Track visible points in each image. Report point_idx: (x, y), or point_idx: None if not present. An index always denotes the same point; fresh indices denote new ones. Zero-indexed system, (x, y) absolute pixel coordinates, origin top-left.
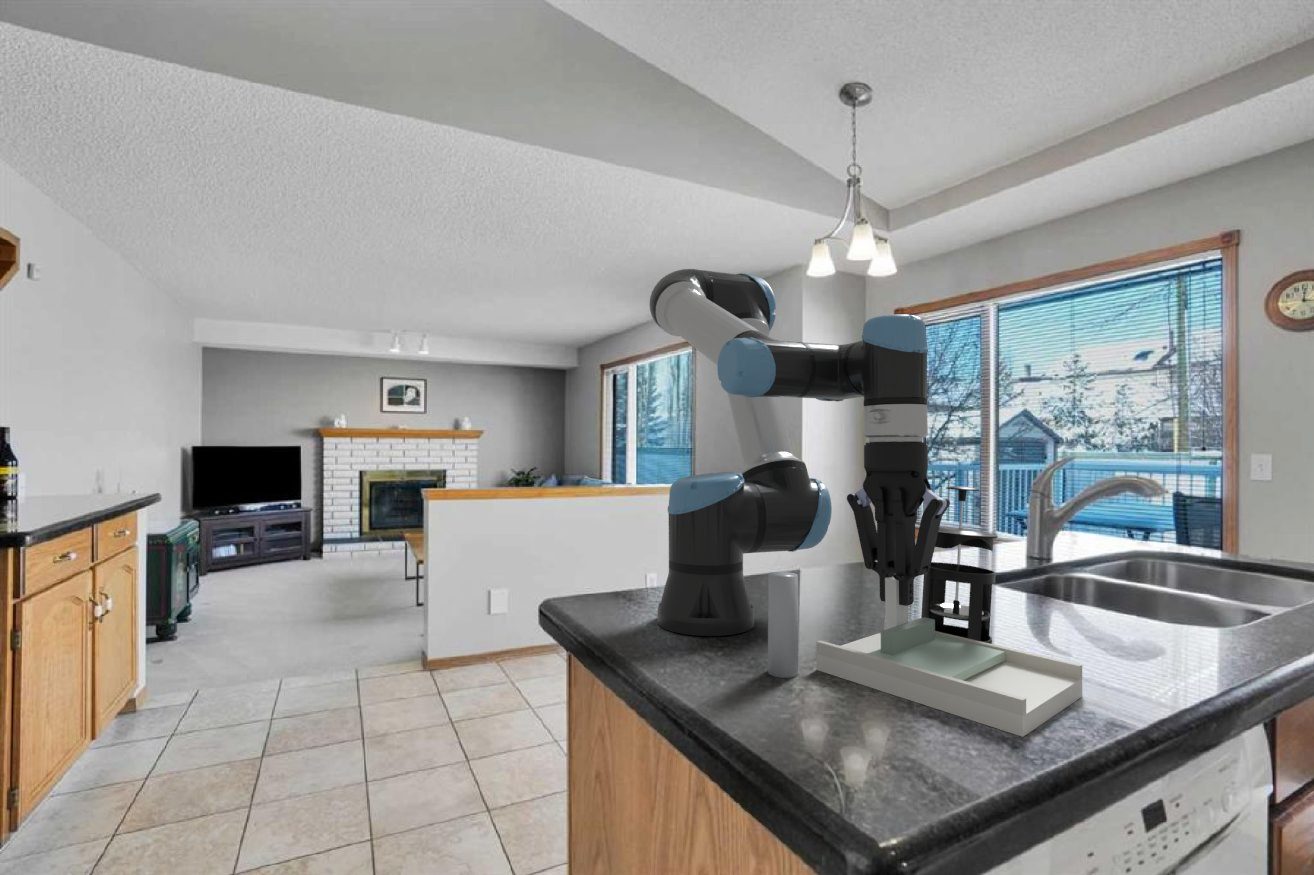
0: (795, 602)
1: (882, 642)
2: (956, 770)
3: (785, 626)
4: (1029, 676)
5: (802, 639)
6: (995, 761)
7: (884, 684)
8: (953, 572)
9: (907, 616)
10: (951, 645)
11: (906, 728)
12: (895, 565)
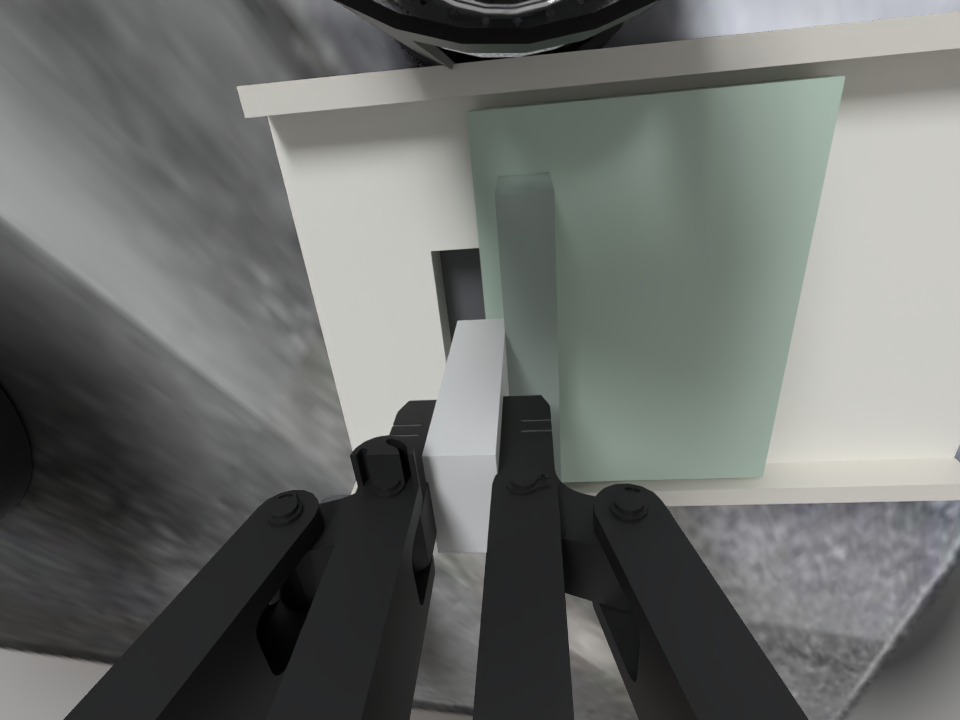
0: None
1: None
2: (832, 611)
3: None
4: (934, 168)
5: (117, 293)
6: (882, 555)
7: None
8: (633, 9)
9: (503, 344)
10: (636, 193)
11: (703, 555)
12: (416, 518)
